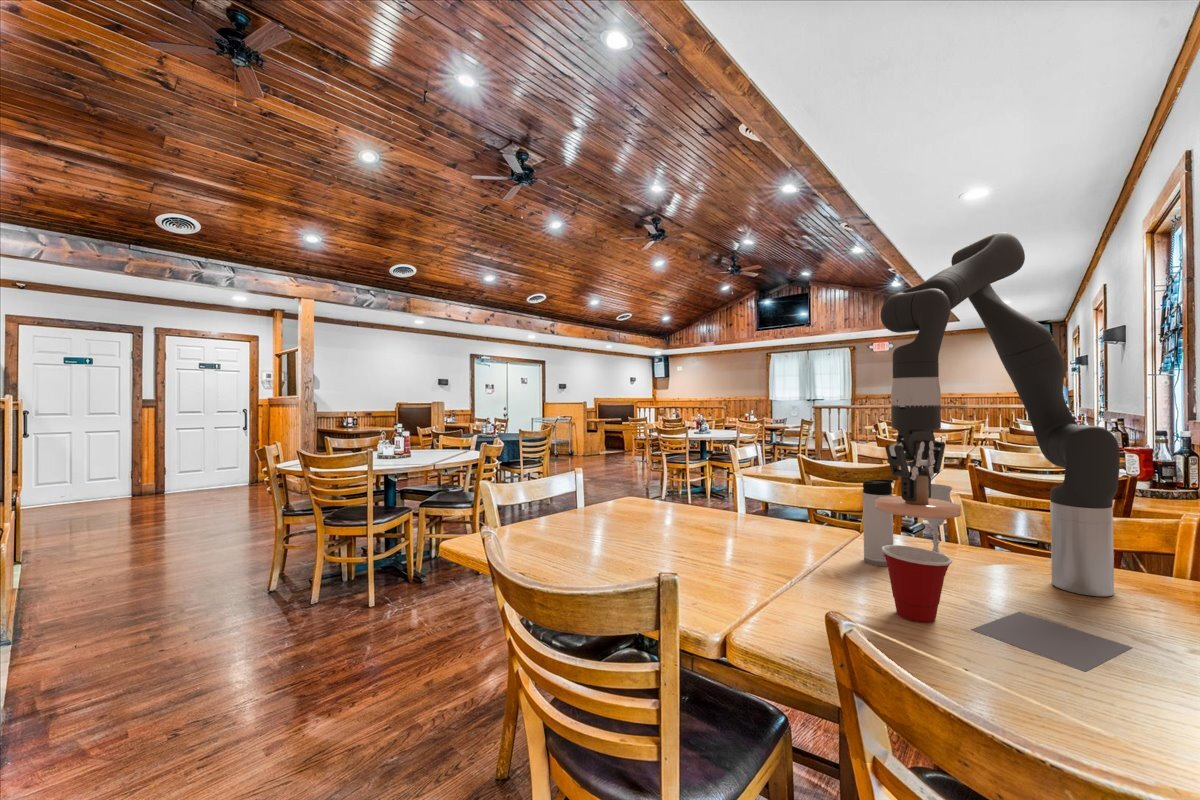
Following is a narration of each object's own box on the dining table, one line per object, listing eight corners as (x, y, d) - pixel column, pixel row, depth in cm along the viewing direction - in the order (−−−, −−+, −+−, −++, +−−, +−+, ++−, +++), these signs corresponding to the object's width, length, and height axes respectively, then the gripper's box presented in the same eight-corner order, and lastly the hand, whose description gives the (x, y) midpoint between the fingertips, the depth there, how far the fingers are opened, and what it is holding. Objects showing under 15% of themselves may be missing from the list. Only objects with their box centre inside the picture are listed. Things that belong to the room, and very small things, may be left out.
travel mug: (894, 568, 117) (893, 481, 117) (862, 564, 121) (861, 479, 121) (895, 560, 123) (894, 478, 123) (865, 556, 126) (863, 476, 126)
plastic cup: (969, 630, 86) (968, 559, 86) (908, 633, 86) (907, 562, 86) (924, 604, 97) (923, 541, 97) (870, 607, 97) (868, 543, 96)
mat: (1019, 613, 92) (1019, 611, 92) (1133, 649, 79) (1132, 647, 79) (970, 631, 86) (970, 629, 86) (1085, 674, 72) (1085, 671, 72)
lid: (903, 499, 100) (903, 468, 100) (977, 513, 88) (977, 477, 88) (859, 507, 94) (859, 473, 94) (932, 522, 83) (931, 483, 82)
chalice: (961, 566, 118) (959, 488, 118) (931, 567, 118) (930, 489, 118) (940, 556, 125) (939, 483, 125) (912, 557, 125) (911, 484, 125)
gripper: (919, 402, 98) (920, 492, 98) (869, 403, 91) (870, 499, 92) (961, 402, 91) (962, 499, 91) (911, 404, 85) (912, 507, 85)
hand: (916, 498), depth 91 cm, fingers closed on lid, 3 cm apart
